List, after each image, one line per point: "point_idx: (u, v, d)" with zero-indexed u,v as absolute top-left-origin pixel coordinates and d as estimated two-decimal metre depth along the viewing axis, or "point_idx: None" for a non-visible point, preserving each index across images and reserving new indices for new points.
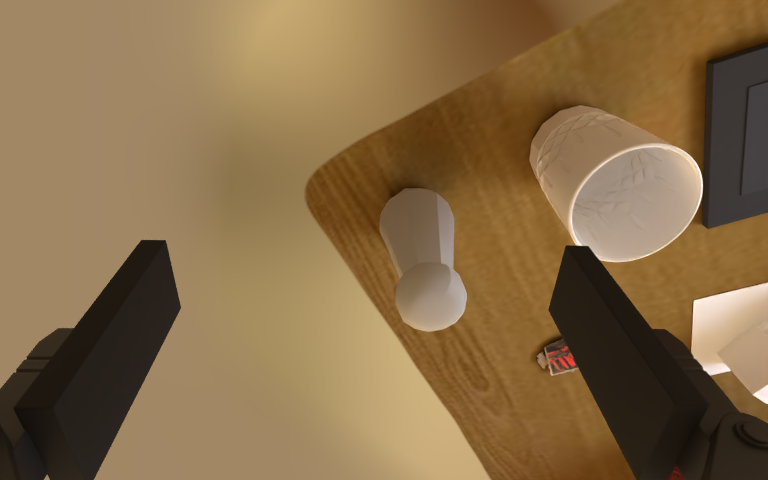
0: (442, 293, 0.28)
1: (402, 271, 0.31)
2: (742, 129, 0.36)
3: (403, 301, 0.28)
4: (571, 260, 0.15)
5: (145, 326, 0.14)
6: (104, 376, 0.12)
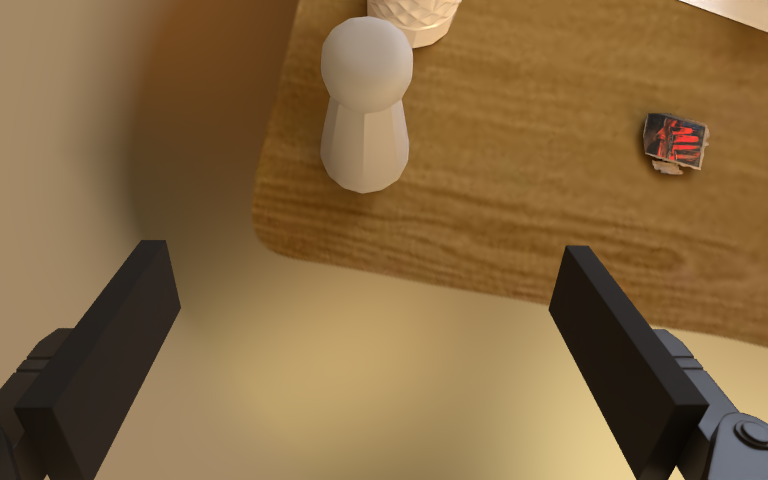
0: (352, 26, 0.22)
1: (338, 105, 0.24)
2: None
3: (333, 72, 0.21)
4: (571, 260, 0.15)
5: (145, 326, 0.14)
6: (104, 376, 0.12)
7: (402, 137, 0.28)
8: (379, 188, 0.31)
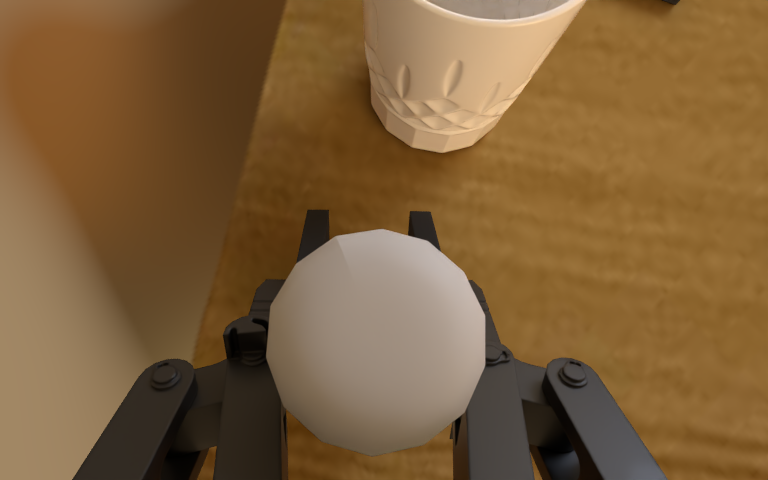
0: (341, 271, 0.09)
1: None
2: None
3: (291, 398, 0.08)
4: (411, 224, 0.17)
5: None
6: None
7: None
8: None
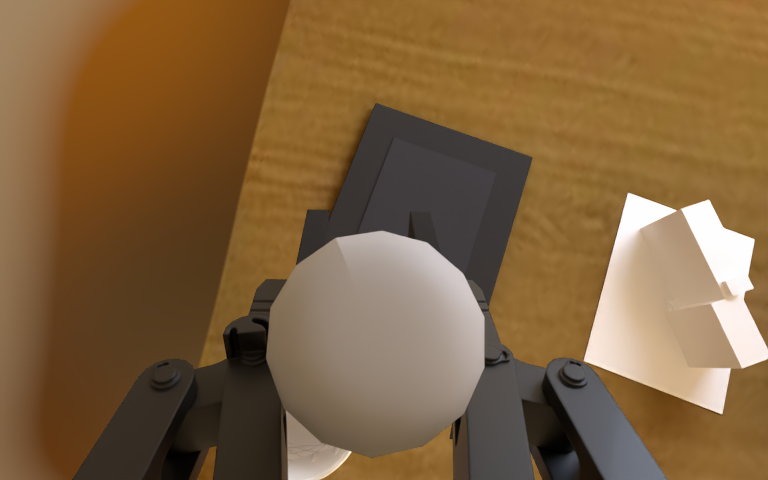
0: (341, 273, 0.09)
1: None
2: None
3: (291, 399, 0.08)
4: (411, 224, 0.17)
5: None
6: None
7: None
8: None
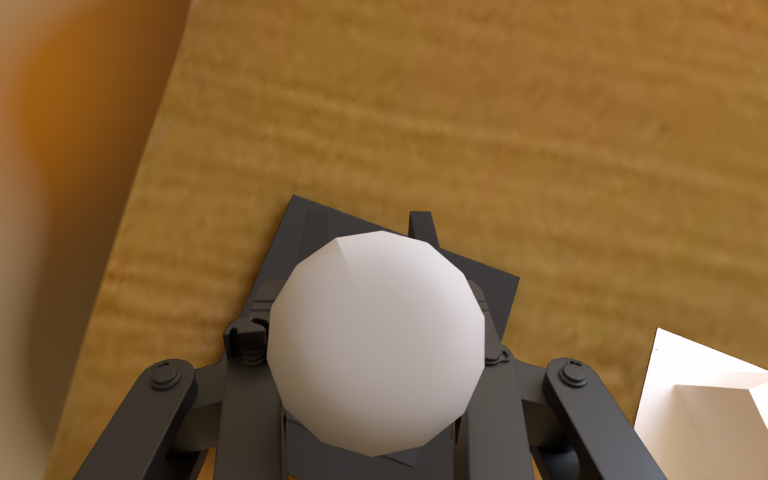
0: (341, 272, 0.09)
1: None
2: (307, 430, 0.25)
3: (292, 398, 0.08)
4: (411, 223, 0.17)
5: None
6: None
7: None
8: None
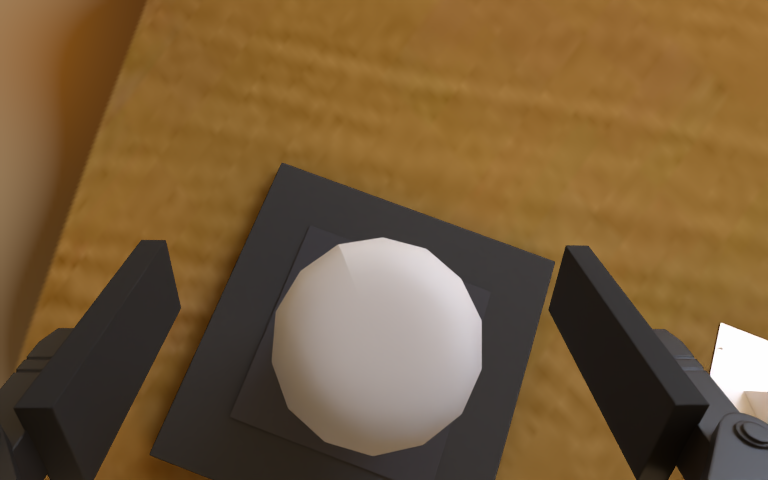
0: (344, 278, 0.09)
1: None
2: (297, 448, 0.20)
3: (296, 400, 0.09)
4: (571, 260, 0.15)
5: (145, 326, 0.14)
6: (104, 376, 0.12)
7: None
8: None
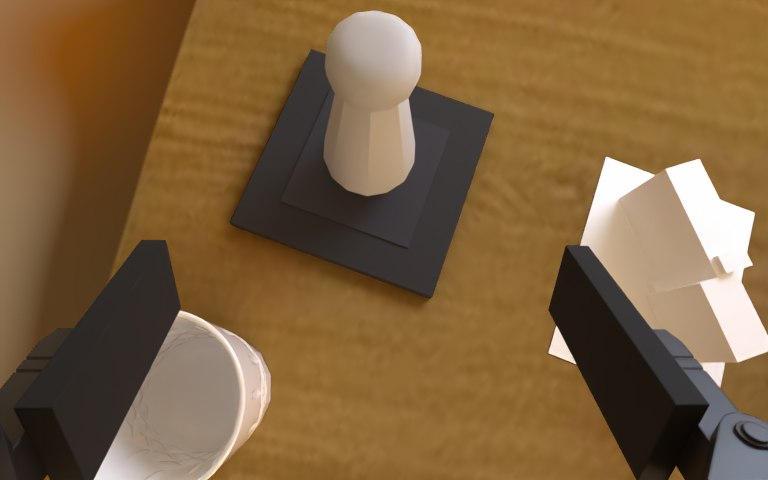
0: (358, 20, 0.21)
1: (343, 104, 0.23)
2: (324, 220, 0.32)
3: (338, 68, 0.20)
4: (571, 260, 0.15)
5: (145, 326, 0.14)
6: (104, 376, 0.12)
7: (409, 138, 0.27)
8: (384, 190, 0.30)
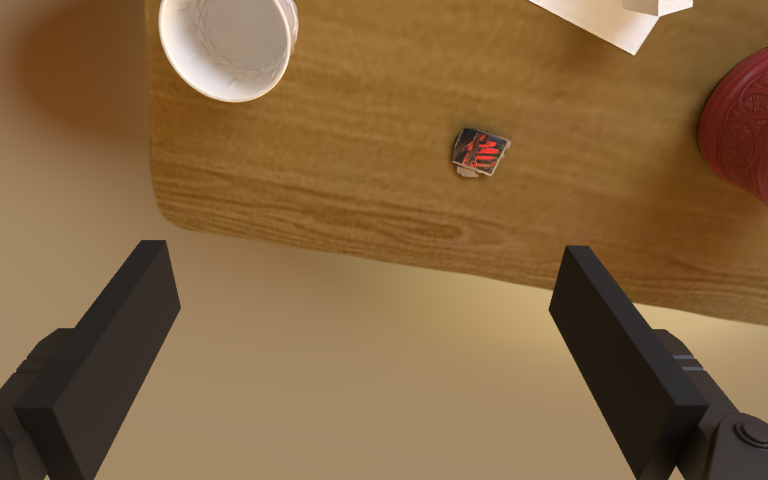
0: None
1: None
2: None
3: None
4: (571, 260, 0.15)
5: (145, 326, 0.14)
6: (104, 376, 0.12)
7: None
8: None
